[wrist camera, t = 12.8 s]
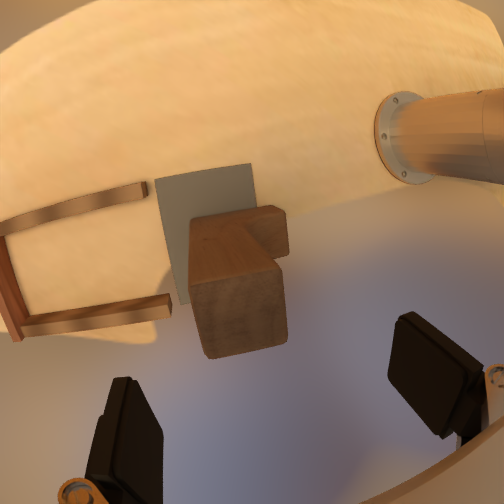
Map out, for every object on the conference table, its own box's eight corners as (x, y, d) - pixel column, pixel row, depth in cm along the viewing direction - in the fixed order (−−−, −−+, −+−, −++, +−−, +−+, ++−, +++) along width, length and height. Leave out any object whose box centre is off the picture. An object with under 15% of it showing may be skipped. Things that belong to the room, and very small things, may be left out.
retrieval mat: (250, 163, 30) (250, 163, 29) (266, 286, 34) (266, 288, 34) (154, 179, 28) (154, 179, 28) (180, 303, 33) (180, 304, 32)
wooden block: (273, 204, 31) (366, 248, 14) (277, 244, 32) (364, 323, 16) (188, 218, 30) (186, 284, 13) (196, 259, 31) (206, 363, 14)
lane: (145, 181, 28) (138, 183, 24) (172, 304, 32) (170, 321, 29) (-7, 225, 25) (-25, 232, 21) (26, 326, 29) (13, 342, 25)
